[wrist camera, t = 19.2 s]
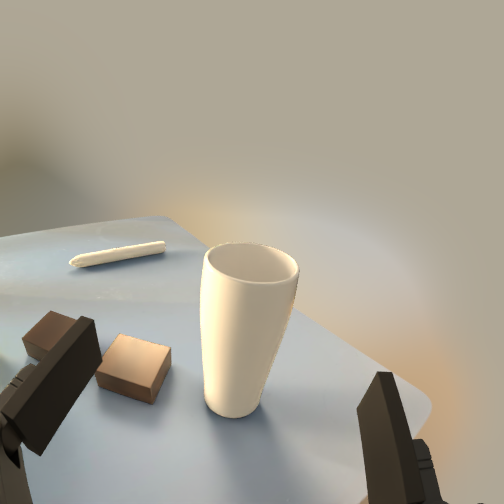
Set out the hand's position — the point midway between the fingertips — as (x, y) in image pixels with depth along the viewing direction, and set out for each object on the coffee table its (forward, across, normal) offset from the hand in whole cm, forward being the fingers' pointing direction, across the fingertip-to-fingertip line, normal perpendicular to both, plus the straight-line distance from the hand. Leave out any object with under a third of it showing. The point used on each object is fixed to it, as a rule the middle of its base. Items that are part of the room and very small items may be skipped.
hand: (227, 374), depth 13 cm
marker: (+33, -24, -14) cm, 43 cm away
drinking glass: (+10, 0, -14) cm, 17 cm away
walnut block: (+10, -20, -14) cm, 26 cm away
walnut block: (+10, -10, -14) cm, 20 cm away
